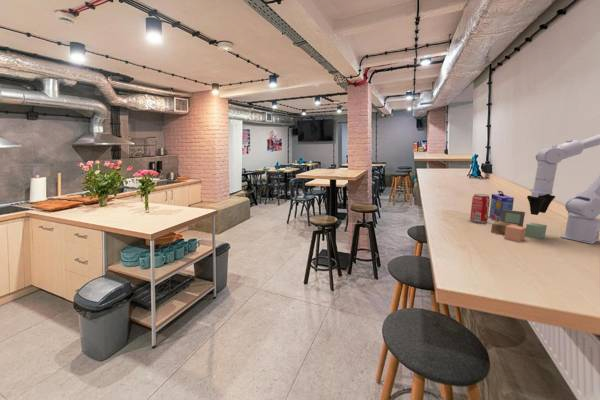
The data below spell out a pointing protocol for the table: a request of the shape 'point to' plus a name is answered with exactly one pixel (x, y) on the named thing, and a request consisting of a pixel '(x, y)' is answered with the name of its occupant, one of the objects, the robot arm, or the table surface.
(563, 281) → the table surface
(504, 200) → the ink cartridge box
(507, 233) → the terracotta block
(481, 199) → the soda can
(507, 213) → the board
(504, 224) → the walnut block
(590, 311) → the table surface
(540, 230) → the green block
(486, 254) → the table surface
